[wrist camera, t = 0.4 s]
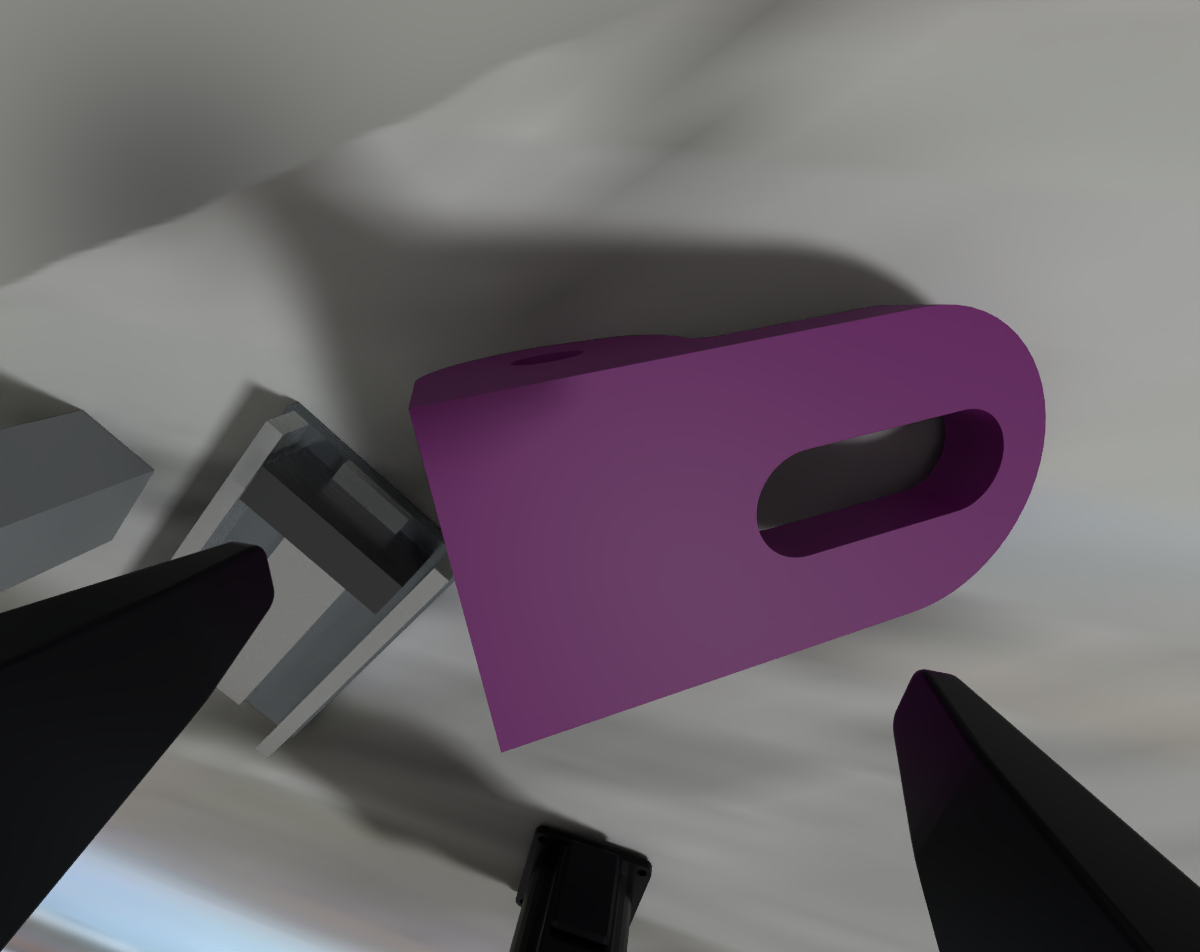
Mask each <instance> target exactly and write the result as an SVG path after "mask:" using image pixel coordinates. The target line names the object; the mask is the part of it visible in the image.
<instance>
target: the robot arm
mask: <svg viewBox="0 0 1200 952" xmlns="http://www.w3.org/2000/svg"><path fill="white" fill-rule="evenodd" d="M273 599H274V586H273V581H272V577H271V572H270V568H269V563H268V559H267V555H266V552H265V551H264V550H263V548H262V547H260V546H258V545H253V544H248V543H242V542H228V543H225V544H221V545H218V546H215V547H212V548H208V549H205V550H202V551H199V552H196V553H192V554H189V555H186V556H183V557H180V558H176V559H173V560H170V561H167V562H163V563H160V564H157V565H154V566H151V567H147V568H144V569H141V570H138V571H134V572H131V573H128V574H125V575H122V576H118V577H115V578H112V579H109V580H106V581H102V582H99V583H96V584H93V585H89V586H86V587H83V588H80V589H77V590H73V591H70V592H67V593H64V594H60V595H57V596H54V597H51V598H48V599H44V600H41V601H38V602H35V603H32V604H28V605H25V606H22V607H19V608H15V609H12V610H9V611H6V612H3V613H0V952H1V951H2V949H3V948H4V947H5V946H6V945H7V943H8V942H9V941H10V940H11V939H12V937H13V936H14V935H15V934H16V932H17V931H18V930H19V929H20V928H21V926H22V925H23V924H24V923H25V922H26V920H27V919H28V918H29V917H30V915H31V914H32V913H33V912H34V911H35V909H36V908H37V907H38V906H39V904H40V903H41V902H42V901H43V900H44V898H45V897H46V896H47V895H48V894H49V892H50V891H51V890H52V889H53V887H54V886H55V885H56V884H57V883H58V881H59V880H60V879H61V878H62V877H63V875H64V874H65V873H66V872H67V870H68V869H69V868H70V867H71V866H72V864H73V863H74V862H75V861H76V859H77V858H78V857H79V856H80V855H81V853H82V852H83V851H84V850H85V849H86V847H87V846H88V845H89V844H90V842H91V841H92V840H93V839H94V838H95V836H96V835H97V834H98V833H99V831H100V830H101V829H102V828H103V827H104V825H105V824H106V823H107V822H108V821H109V819H110V818H111V817H112V816H113V814H114V813H115V812H116V811H117V810H118V808H119V807H120V806H121V805H122V804H123V802H124V801H125V800H126V799H127V797H128V796H129V795H130V794H131V793H132V791H133V790H134V789H135V788H136V786H137V785H138V784H139V783H140V782H141V780H142V779H143V778H144V777H145V776H146V774H147V773H148V772H149V771H150V769H151V768H152V767H153V766H154V765H155V763H156V762H157V761H158V760H159V759H160V757H161V756H162V755H163V754H164V752H165V751H166V750H167V749H168V748H169V746H170V745H171V744H172V743H173V741H174V740H175V739H176V738H177V737H178V735H179V734H180V733H181V732H182V731H183V729H184V728H185V727H186V726H187V724H188V723H189V722H190V721H191V720H192V718H193V717H194V716H195V715H196V713H197V712H198V711H199V710H200V708H201V707H202V706H203V704H204V703H205V702H206V701H207V699H208V698H209V696H210V695H211V694H212V692H213V691H214V689H215V688H216V687H217V685H218V684H219V682H220V681H221V679H222V678H223V677H224V675H225V674H226V672H227V671H228V669H229V668H230V666H231V665H232V663H233V662H234V660H235V659H236V657H237V656H238V655H239V653H240V652H241V650H242V649H243V647H244V646H245V644H246V643H247V641H248V640H249V638H250V637H251V636H252V634H253V633H254V631H255V630H256V628H257V627H258V625H259V624H260V622H261V621H262V619H263V618H264V616H265V615H266V614H267V612H268V611H269V609H270V607H271V605H272V603H273ZM893 732H894V739H895V745H896V751H897V757H898V763H899V769H900V775H901V781H902V788H903V794H904V800H905V806H906V812H907V818H908V824H909V830H910V836H911V841H912V847H913V852H914V857H915V861H916V866H917V870H918V874H919V878H920V882H921V885H922V889H923V893H924V896H925V900H926V904H927V907H928V911H929V915H930V919H931V922H932V926H933V930H934V933H935V937H936V941H937V944H938V948H939V952H1200V887H1199V886H1198V885H1197V884H1196V883H1195V882H1193V881H1192V880H1191V879H1190V878H1189V877H1188V876H1186V875H1185V874H1184V873H1183V872H1182V871H1181V870H1179V869H1178V868H1177V867H1176V866H1175V865H1174V864H1173V863H1171V862H1170V861H1169V860H1168V859H1167V858H1166V857H1164V856H1163V855H1162V854H1161V853H1160V852H1159V851H1158V850H1156V849H1155V848H1154V847H1153V846H1152V845H1151V844H1149V843H1148V842H1147V841H1146V840H1145V839H1144V838H1143V837H1141V836H1140V835H1139V834H1138V833H1137V832H1136V831H1134V830H1133V829H1132V828H1131V827H1130V826H1129V825H1128V824H1126V823H1125V822H1124V821H1123V820H1122V819H1121V818H1119V817H1118V816H1117V815H1116V814H1115V813H1114V812H1112V811H1111V810H1110V809H1109V808H1108V807H1107V806H1106V805H1104V804H1103V803H1102V802H1101V801H1100V800H1099V799H1097V798H1096V797H1095V796H1094V795H1093V794H1092V793H1091V792H1089V791H1088V790H1087V789H1086V788H1085V787H1084V786H1082V785H1081V784H1080V783H1079V782H1078V781H1077V780H1076V779H1074V778H1073V777H1072V776H1071V775H1070V774H1069V773H1067V772H1066V771H1065V770H1064V769H1063V768H1062V767H1060V766H1059V765H1058V764H1057V763H1056V762H1055V761H1054V760H1052V759H1051V758H1050V757H1049V756H1048V755H1047V754H1045V753H1044V752H1043V751H1042V750H1041V749H1040V748H1039V747H1037V746H1036V745H1035V744H1034V743H1033V742H1032V741H1030V740H1029V739H1028V738H1027V737H1026V736H1025V735H1024V734H1022V733H1021V732H1020V731H1019V730H1018V729H1017V728H1015V727H1014V726H1013V725H1012V724H1011V723H1010V722H1008V721H1007V720H1006V719H1005V718H1004V717H1003V716H1002V715H1000V714H999V713H998V712H997V711H996V710H995V709H993V708H992V707H991V706H990V705H989V704H988V703H987V702H985V701H984V700H983V699H982V698H981V697H980V696H978V695H977V694H976V693H975V692H974V691H973V690H972V689H970V688H969V687H968V686H967V685H966V684H965V683H963V682H962V681H961V680H960V679H959V678H957V677H956V676H954V675H951V674H947V673H942V672H936V671H931V670H925V669H922V670H918V671H917V672H916V673H914V675H913V676H912V678H911V680H910V682H909V684H908V687H907V689H906V691H905V693H904V695H903V697H902V699H901V701H900V704H899V706H898V708H897V710H896V712H895V716H894V721H893ZM651 872H652V865H651V863H650V862H649V861H647V860H645V859H642V858H639V857H636V856H633V855H630V854H627V853H624V852H621V851H618V850H615V849H612V848H609V847H606V846H603V845H600V844H597V843H594V842H591V841H588V840H585V839H582V838H579V837H576V836H573V835H570V834H567V833H564V832H561V831H558V830H555V829H552V828H549V827H545V826H539V827H538V828H537V829H536V831H535V834H534V838H533V841H532V845H531V848H530V852H529V855H528V859H527V862H526V865H525V869H524V872H523V876H522V879H521V883H520V886H519V890H518V893H517V897H516V903H517V904H518V905H519V906H521V911H520V915H519V918H518V922H517V926H516V929H515V933H514V936H513V940H512V944H511V947H510V951H509V952H627V944H628V934H629V926H630V924H631V922H632V919H633V917H634V915H635V912H636V910H637V908H638V905H639V903H640V901H641V898H642V896H643V894H644V891H645V889H646V887H647V884H648V882H649V880H650V877H651Z"/></svg>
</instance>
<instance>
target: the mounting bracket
mask: <svg viewBox="0 0 1200 952" xmlns="http://www.w3.org/2000/svg"><path fill="white" fill-rule="evenodd" d="M409 411H410V415H411V419H412V423H413V426H414V430H415V434H416V437H417V441H418V445H419V449H420V452H421V456H422V460H423V463H424V467H425V471H426V475H427V478H428V482H429V486H430V489H431V493H432V497H433V501H434V504H435V508H436V512H437V516H438V519H439V523H440V527H441V530H442V534H443V538H444V542H445V545H446V549H447V553H448V556H449V560H450V564H451V568H452V571H453V575H454V579H455V582H456V586H457V590H458V594H459V597H460V601H461V605H462V608H463V612H464V616H465V620H466V623H467V627H468V631H469V634H470V638H471V642H472V646H473V649H474V653H475V657H476V660H477V664H478V668H479V672H480V675H481V679H482V683H483V686H484V690H485V694H486V698H487V701H488V705H489V709H490V713H491V716H492V720H493V724H494V727H495V731H496V735H497V739H498V742H499V746H500V750H501V752H504V751H507V750H510V749H513V748H516V747H519V746H522V745H525V744H528V743H531V742H534V741H537V740H539V739H542V738H545V737H548V736H551V735H554V734H557V733H560V732H563V731H566V730H569V729H572V728H575V727H578V726H580V725H583V724H586V723H589V722H592V721H595V720H598V719H601V718H604V717H607V716H610V715H613V714H616V713H619V712H621V711H624V710H627V709H630V708H633V707H636V706H639V705H642V704H645V703H648V702H651V701H654V700H657V699H660V698H662V697H665V696H668V695H671V694H674V693H677V692H680V691H683V690H686V689H689V688H692V687H695V686H698V685H700V684H703V683H706V682H709V681H712V680H715V679H718V678H721V677H724V676H727V675H730V674H733V673H736V672H739V671H741V670H744V669H747V668H750V667H753V666H756V665H759V664H762V663H765V662H768V661H771V660H774V659H777V658H780V657H782V656H785V655H788V654H791V653H794V652H797V651H800V650H803V649H806V648H809V647H812V646H815V645H818V644H821V643H823V642H826V641H829V640H832V639H835V638H838V637H841V636H844V635H847V634H850V633H853V632H856V631H859V630H861V629H864V628H867V627H870V626H873V625H876V624H879V623H882V622H885V621H888V620H891V619H894V618H897V617H900V616H902V615H905V614H908V613H911V612H914V611H917V610H919V609H922V608H924V607H927V606H929V605H931V604H933V603H935V602H937V601H939V600H940V599H942V598H944V597H945V596H947V595H948V594H950V593H952V592H953V591H955V590H956V589H957V588H959V587H960V586H961V585H963V584H964V583H965V582H966V581H967V580H969V579H970V578H971V577H972V576H973V575H974V574H975V573H977V572H978V571H979V570H980V569H981V568H982V566H983V565H984V564H985V563H986V562H987V561H988V560H989V559H990V558H991V557H992V556H993V554H994V553H995V552H996V551H997V550H998V548H999V547H1000V546H1001V544H1002V543H1003V541H1004V540H1005V539H1006V537H1007V536H1008V534H1009V533H1010V531H1011V530H1012V528H1013V526H1014V525H1015V523H1016V522H1017V520H1018V518H1019V516H1020V514H1021V512H1022V510H1023V508H1024V506H1025V504H1026V502H1027V500H1028V497H1029V495H1030V493H1031V490H1032V487H1033V485H1034V482H1035V479H1036V476H1037V472H1038V469H1039V465H1040V461H1041V456H1042V451H1043V445H1044V437H1045V418H1046V414H1045V400H1044V394H1043V388H1042V383H1041V380H1040V376H1039V372H1038V370H1037V367H1036V365H1035V362H1034V360H1033V358H1032V356H1031V354H1030V352H1029V351H1028V349H1027V347H1026V345H1025V344H1024V343H1023V342H1022V340H1021V339H1020V338H1019V336H1018V335H1017V334H1016V333H1015V332H1014V331H1013V330H1012V329H1011V328H1010V327H1009V326H1008V325H1006V324H1005V323H1004V322H1002V321H1001V320H999V319H998V318H997V317H995V316H993V315H991V314H989V313H987V312H985V311H982V310H979V309H976V308H972V307H967V306H961V305H881V306H873V307H867V308H861V309H856V310H851V311H846V312H840V313H835V314H830V315H825V316H820V317H814V318H809V319H804V320H799V321H794V322H788V323H783V324H778V325H773V326H768V327H762V328H757V329H752V330H747V331H741V332H736V333H731V334H726V335H720V336H713V337H704V338H686V337H677V336H667V335H633V336H619V337H608V338H601V339H594V340H587V341H579V342H572V343H565V344H558V345H551V346H544V347H537V348H531V349H526V350H520V351H515V352H510V353H505V354H500V355H495V356H491V357H486V358H482V359H478V360H473V361H469V362H465V363H462V364H458V365H454V366H451V367H447V368H444V369H441V370H438V371H435V372H432V373H430V374H427V375H425V376H423V377H421V378H419V379H418V380H416V382H415V384H414V388H413V393H412V397H411V401H410V405H409ZM938 416H943V419H944V423H945V430H946V436H945V444H944V448H943V452H942V454H941V457H940V459H939V461H938V463H937V465H936V466H935V468H934V469H933V471H932V472H931V473H930V474H929V476H928V477H927V478H926V479H924V480H923V481H922V482H921V483H919V484H918V485H917V486H915V487H913V488H911V489H909V490H906V491H902V492H899V493H895V494H892V495H888V496H885V497H881V498H877V499H874V500H870V501H867V502H863V503H860V504H856V505H853V506H849V507H846V508H842V509H839V510H835V511H831V512H828V513H824V514H821V515H817V516H814V517H810V518H807V519H803V520H800V521H796V522H793V523H789V524H785V525H782V526H778V527H775V528H771V529H767V530H762V531H759V529H758V525H757V505H758V500H759V496H760V493H761V491H762V489H763V486H764V484H765V483H766V481H767V479H768V478H769V476H770V475H771V473H772V472H773V471H774V470H775V469H776V468H777V467H778V466H779V465H780V464H781V463H782V462H783V461H784V460H786V459H787V458H789V457H790V456H792V455H794V454H796V453H798V452H800V451H803V450H807V449H811V448H815V447H819V446H823V445H827V444H831V443H835V442H839V441H843V440H846V439H850V438H854V437H858V436H862V435H866V434H870V433H874V432H878V431H882V430H886V429H890V428H894V427H898V426H902V425H906V424H910V423H914V422H918V421H922V420H926V419H930V418H934V417H938Z"/></svg>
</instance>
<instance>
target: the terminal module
mask: <svg viewBox="0 0 1200 952" xmlns="http://www.w3.org/2000/svg"><path fill="white" fill-rule="evenodd" d="M153 472H154V469H152V468H151V467H150V466H149V465H148V464H146V463H145V462H144V461H143V460H142V459H140V458H139V457H138V456H137V455H136V454H134V453H133V452H132V451H131V450H130V449H128V448H127V447H126V446H125V445H124V444H122V443H121V442H120V441H119V440H118V439H116V438H115V437H114V436H113V435H112V434H111V433H109V432H108V431H107V430H106V429H105V428H103V427H102V426H101V425H100V424H99V423H97V422H96V421H95V420H94V419H93V418H91V417H90V416H89V415H88V414H87V413H85V412H84V411H83V410H81V411H77V412H73V413H69V414H64V415H60V416H56V417H51V418H47V419H43V420H39V421H34V422H30V423H26V424H21V425H17V426H13V427H9V428H4V429H0V592H2V591H4V590H6V589H8V588H10V587H12V586H15V585H17V584H19V583H21V582H23V581H25V580H27V579H30V578H32V577H34V576H36V575H38V574H40V573H42V572H45V571H47V570H49V569H51V568H53V567H55V566H57V565H60V564H62V563H64V562H66V561H68V560H70V559H72V558H75V557H77V556H79V555H81V554H83V553H85V552H87V551H90V550H92V549H94V548H96V547H98V546H100V545H102V544H104V543H107V542H109V541H111V540H112V539H113V537H114V535H115V534H116V532H117V531H118V529H119V527H120V526H121V524H122V522H123V521H124V519H125V517H126V516H127V514H128V513H129V511H130V509H131V508H132V506H133V504H134V503H135V501H136V499H137V498H138V496H139V494H140V493H141V491H142V490H143V488H144V486H145V485H146V483H147V481H148V480H149V478H150V476H151V475H152V473H153Z"/></svg>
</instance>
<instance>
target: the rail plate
mask: <svg viewBox="0 0 1200 952" xmlns="http://www.w3.org/2000/svg"><path fill="white" fill-rule="evenodd" d="M228 542H242V543H248V544H253V545H258V546H260V547H262V548H263V550H264V551H265V552H266V555H267V559H268V563H269V568H270V572H271V577H272V581H273V586H274V599H273V603H272V605H271V607H270V609H269V611H268V612H267V614H266V615H265V616H264V618H263V619H262V621H261V622H260V624H259V625H258V627H257V628H256V630H255V631H254V633H253V634H252V636H251V637H250V638H249V640H248V641H247V643H246V644H245V646H244V647H243V649H242V650H241V652H240V653H239V655H238V656H237V657H236V659H235V660H234V662H233V663H232V665H231V666H230V668H229V669H228V671H227V672H226V674H225V675H224V677H223V678H222V679H221V681H220V682H219V684H218V685H217V688H218V689H219V690H220V691H222V692H223V693H224V694H226V695H227V696H228V697H229V698H231V699H232V700H233V701H234V702H236V703H237V704H238V705H240V704H241V703H242V702H243V701H244V700H246V701H247V702H248V703H250V704H251V705H252V706H253V707H255V708H256V709H257V710H258V711H260V712H261V713H262V714H264V715H265V716H266V717H267V718H269V719H270V720H271V721H272V722H274V723H275V724H276V727H275V728H274V729H273V730H272V731H271V732H270V733H269V734H268V735H267V736H266V737H265V739H264V740H263V741H262V742H261V743H260V744H259V745H258V746H257V747H256V748H255V749H256V750H257V751H258V752H260V753H261V754H262V755H263V756H265V757H266V758H267V759H268V758H269V757H270V756H271V755H272V754H273V753H274V752H275V751H276V750H277V749H278V748H279V747H280V746H281V745H282V744H283V743H284V742H285V741H286V740H287V739H288V738H289V737H290V736H291V737H294V736H295V735H296V734H297V733H298V732H299V731H300V730H302V729H303V728H304V727H305V726H306V725H307V724H308V723H309V722H310V721H311V720H312V719H313V718H314V717H315V716H316V715H317V714H318V713H319V712H320V711H321V710H322V709H323V708H324V707H325V706H326V705H327V704H328V703H329V702H330V701H331V700H332V699H333V698H334V697H335V696H337V695H338V694H339V693H340V692H341V691H342V690H343V689H344V688H345V687H346V686H347V685H348V684H349V683H350V682H351V681H352V680H353V679H354V678H355V677H356V676H357V675H358V674H359V673H360V672H361V671H362V670H363V669H364V668H365V667H366V666H367V665H368V664H369V663H370V662H371V661H373V660H374V659H375V658H376V657H377V656H378V655H379V654H380V653H381V652H382V651H383V650H384V649H385V648H386V647H387V646H388V645H389V644H390V643H391V642H392V641H393V640H394V639H395V638H396V637H397V636H398V635H399V634H400V633H401V632H402V631H403V630H404V629H405V628H406V627H408V626H409V625H410V624H411V623H412V622H413V621H414V620H415V619H416V618H417V617H418V616H419V615H420V614H421V613H422V612H423V611H424V610H425V609H426V608H427V607H428V606H429V605H430V604H431V603H432V602H433V601H434V600H435V599H436V598H437V597H438V596H439V595H440V594H441V593H443V592H444V591H445V590H446V589H447V588H448V587H449V586H450V585H451V584H452V583H453V582H454V581H455V579H454V575H453V571H452V568H451V564H450V560H449V556H448V553H447V549H446V545H445V542H444V538H443V534H442V530H440V529H439V528H438V527H437V526H436V525H435V524H434V523H433V522H432V521H430V520H429V519H428V518H427V517H426V516H425V515H424V514H423V513H421V512H420V511H419V510H418V509H417V508H416V507H415V506H414V505H413V504H411V503H410V502H409V501H408V500H407V499H406V498H405V497H404V496H402V495H401V494H400V493H399V492H398V491H397V490H396V489H395V488H394V487H392V486H391V485H390V484H389V483H388V482H387V481H386V480H385V479H383V478H382V477H381V476H380V475H379V474H378V473H377V472H376V471H375V470H373V469H372V468H371V467H370V466H369V465H368V464H367V463H366V462H364V461H363V460H362V459H361V458H360V457H359V456H358V455H357V454H356V453H354V452H353V451H352V450H351V449H350V448H349V447H348V446H347V445H345V444H344V443H343V442H342V441H341V440H340V439H339V438H338V437H337V436H335V435H334V434H333V433H332V432H331V431H330V430H329V429H328V428H326V427H325V426H324V425H323V424H322V423H321V422H320V421H319V420H318V419H316V418H315V417H314V416H313V415H312V414H311V413H310V412H309V411H308V410H306V409H305V408H304V407H303V406H302V405H301V404H300V403H299V402H297V403H295V404H292V405H289V406H288V407H287V409H286V410H285V411H284V413H283V414H282V415H281V416H278V417H275V418H272V419H270V420H267V421H266V422H265V424H264V425H263V427H262V428H261V429H260V431H259V432H258V434H257V435H256V437H255V438H254V440H253V441H252V442H251V444H250V445H249V447H248V448H247V450H246V451H245V453H244V454H243V456H242V457H241V458H240V460H239V461H238V463H237V464H236V466H235V467H234V469H233V470H232V472H231V473H230V474H229V476H228V477H227V479H226V480H225V482H224V483H223V485H222V486H221V487H220V489H219V490H218V492H217V493H216V495H215V496H214V498H213V499H212V501H211V502H210V503H209V505H208V506H207V508H206V509H205V511H204V512H203V514H202V515H201V516H200V518H199V519H198V521H197V522H196V524H195V525H194V527H193V528H192V530H191V531H190V532H189V534H188V535H187V537H186V538H185V540H184V541H183V543H182V544H181V545H180V547H179V548H178V550H177V551H176V553H175V554H174V556H173V557H172V559H171V560H173V559H176V558H180V557H183V556H186V555H189V554H192V553H196V552H199V551H202V550H205V549H208V548H212V547H215V546H218V545H221V544H225V543H228Z"/></svg>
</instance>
